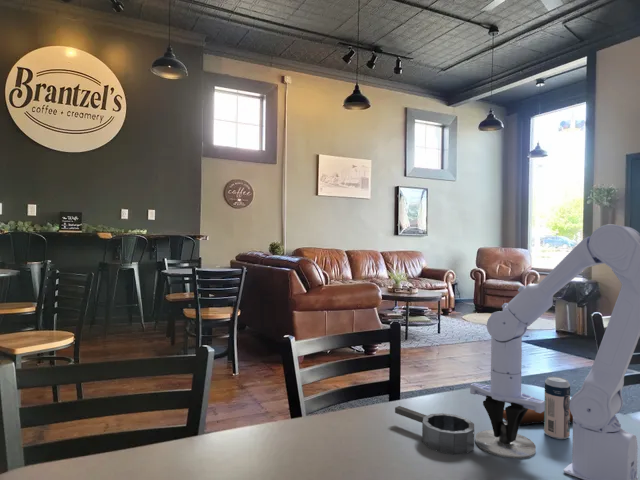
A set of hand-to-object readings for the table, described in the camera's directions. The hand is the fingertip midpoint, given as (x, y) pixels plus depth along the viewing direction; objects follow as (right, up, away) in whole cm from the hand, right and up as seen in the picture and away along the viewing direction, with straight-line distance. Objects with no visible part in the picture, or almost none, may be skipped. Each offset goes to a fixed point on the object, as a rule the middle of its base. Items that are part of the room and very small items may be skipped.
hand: (504, 438), depth 91 cm
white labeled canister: (+13, -2, +5) cm, 14 cm away
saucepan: (-14, -1, +4) cm, 14 cm away
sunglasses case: (+14, -3, +14) cm, 20 cm away
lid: (0, -2, 0) cm, 2 cm away
